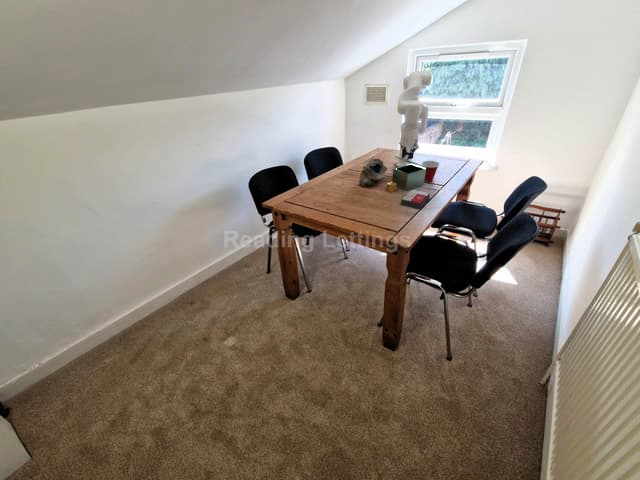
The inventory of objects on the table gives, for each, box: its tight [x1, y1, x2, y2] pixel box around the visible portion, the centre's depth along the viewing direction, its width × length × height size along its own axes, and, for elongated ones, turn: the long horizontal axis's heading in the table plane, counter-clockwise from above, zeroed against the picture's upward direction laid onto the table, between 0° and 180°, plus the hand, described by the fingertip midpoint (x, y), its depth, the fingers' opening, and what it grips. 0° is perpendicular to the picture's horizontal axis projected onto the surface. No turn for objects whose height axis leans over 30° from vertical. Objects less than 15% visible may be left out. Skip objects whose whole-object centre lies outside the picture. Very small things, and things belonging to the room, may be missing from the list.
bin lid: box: [395, 151, 426, 168], centre depth 175 cm, size 16×13×5 cm
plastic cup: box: [421, 160, 440, 183], centre depth 185 cm, size 11×11×12 cm
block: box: [385, 181, 397, 193], centre depth 177 cm, size 4×4×4 cm
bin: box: [391, 164, 426, 191], centre depth 181 cm, size 16×13×11 cm
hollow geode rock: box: [358, 158, 388, 187], centre depth 191 cm, size 28×13×15 cm
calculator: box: [400, 189, 431, 210], centre depth 161 cm, size 11×4×15 cm
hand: (407, 157), depth 172 cm, fingers closed on bin lid, 5 cm apart
